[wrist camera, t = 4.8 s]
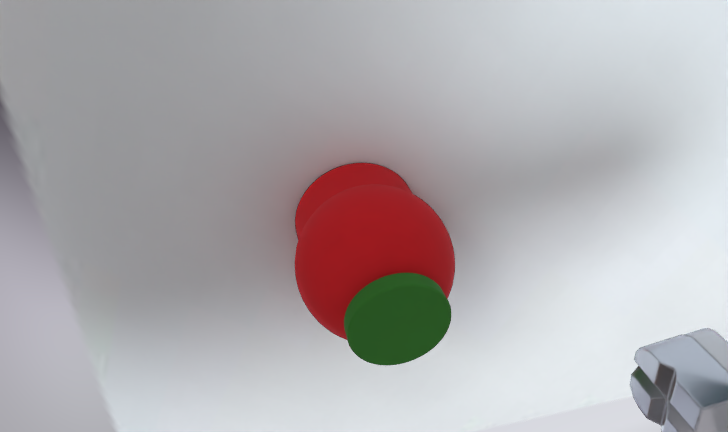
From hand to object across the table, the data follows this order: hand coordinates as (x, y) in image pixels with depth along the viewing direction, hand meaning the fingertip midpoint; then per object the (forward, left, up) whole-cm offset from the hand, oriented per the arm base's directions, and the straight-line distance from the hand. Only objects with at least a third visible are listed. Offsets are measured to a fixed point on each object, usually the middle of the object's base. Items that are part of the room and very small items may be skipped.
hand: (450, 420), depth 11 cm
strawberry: (0, 0, -8) cm, 8 cm away
